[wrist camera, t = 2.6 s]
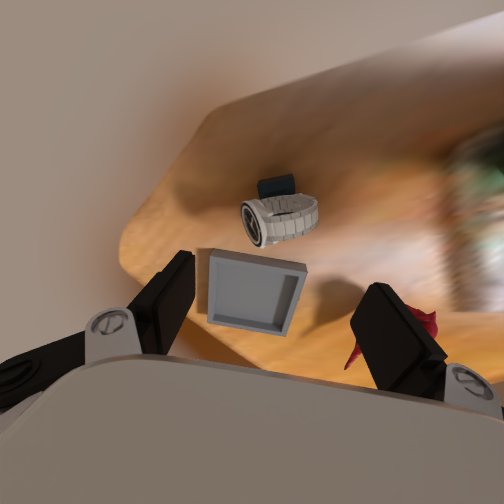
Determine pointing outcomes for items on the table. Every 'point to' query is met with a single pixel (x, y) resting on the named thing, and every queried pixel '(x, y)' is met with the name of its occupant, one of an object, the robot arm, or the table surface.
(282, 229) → the watch
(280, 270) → the tray
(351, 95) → the table surface
